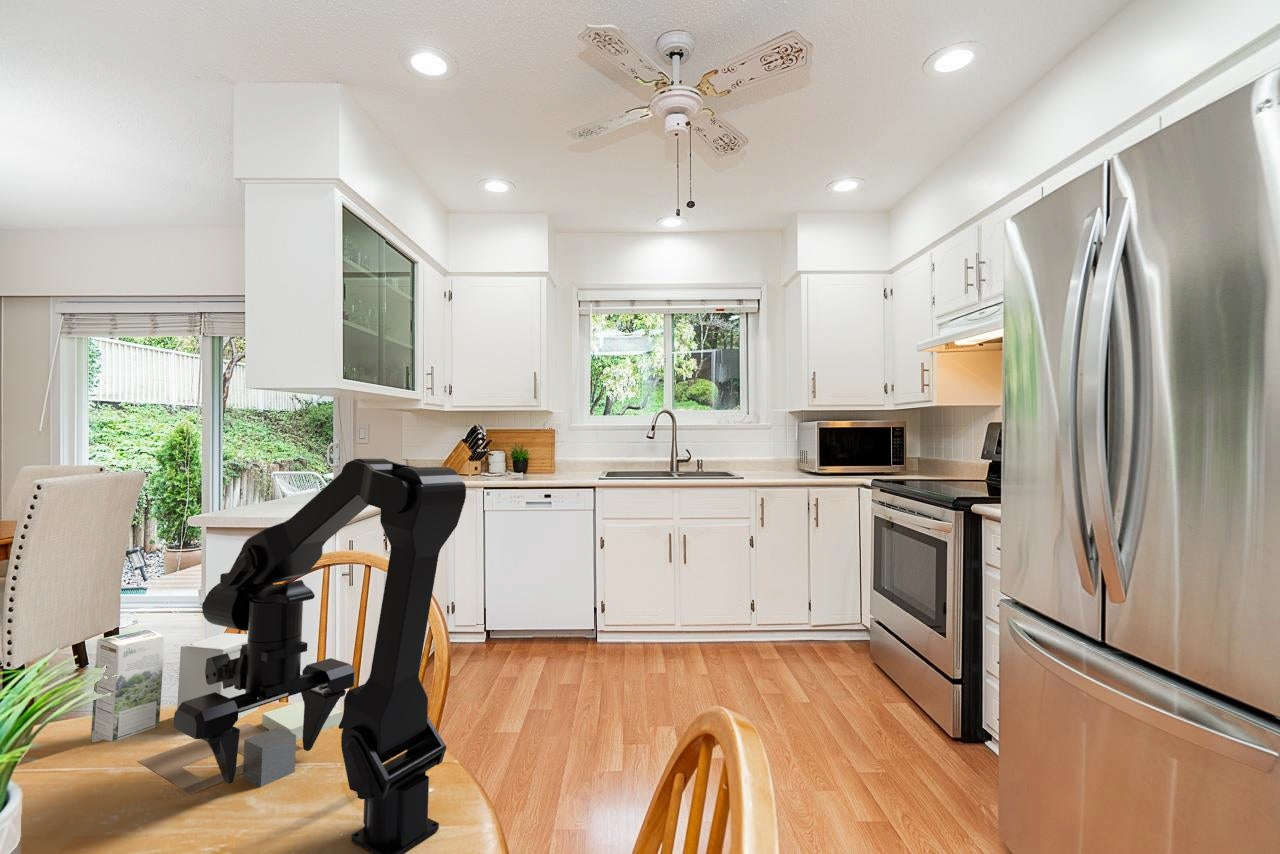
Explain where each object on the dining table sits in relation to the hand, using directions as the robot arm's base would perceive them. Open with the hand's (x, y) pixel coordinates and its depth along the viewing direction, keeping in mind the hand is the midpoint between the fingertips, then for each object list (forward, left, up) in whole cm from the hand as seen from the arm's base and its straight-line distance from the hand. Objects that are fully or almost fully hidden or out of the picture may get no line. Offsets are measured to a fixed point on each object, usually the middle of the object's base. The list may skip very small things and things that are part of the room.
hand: (269, 765), depth 74 cm
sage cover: (+10, -10, -3) cm, 15 cm away
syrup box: (+29, +4, -3) cm, 30 cm away
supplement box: (+23, -5, -3) cm, 24 cm away
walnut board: (+10, 0, -3) cm, 10 cm away
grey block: (0, 0, -3) cm, 3 cm away
